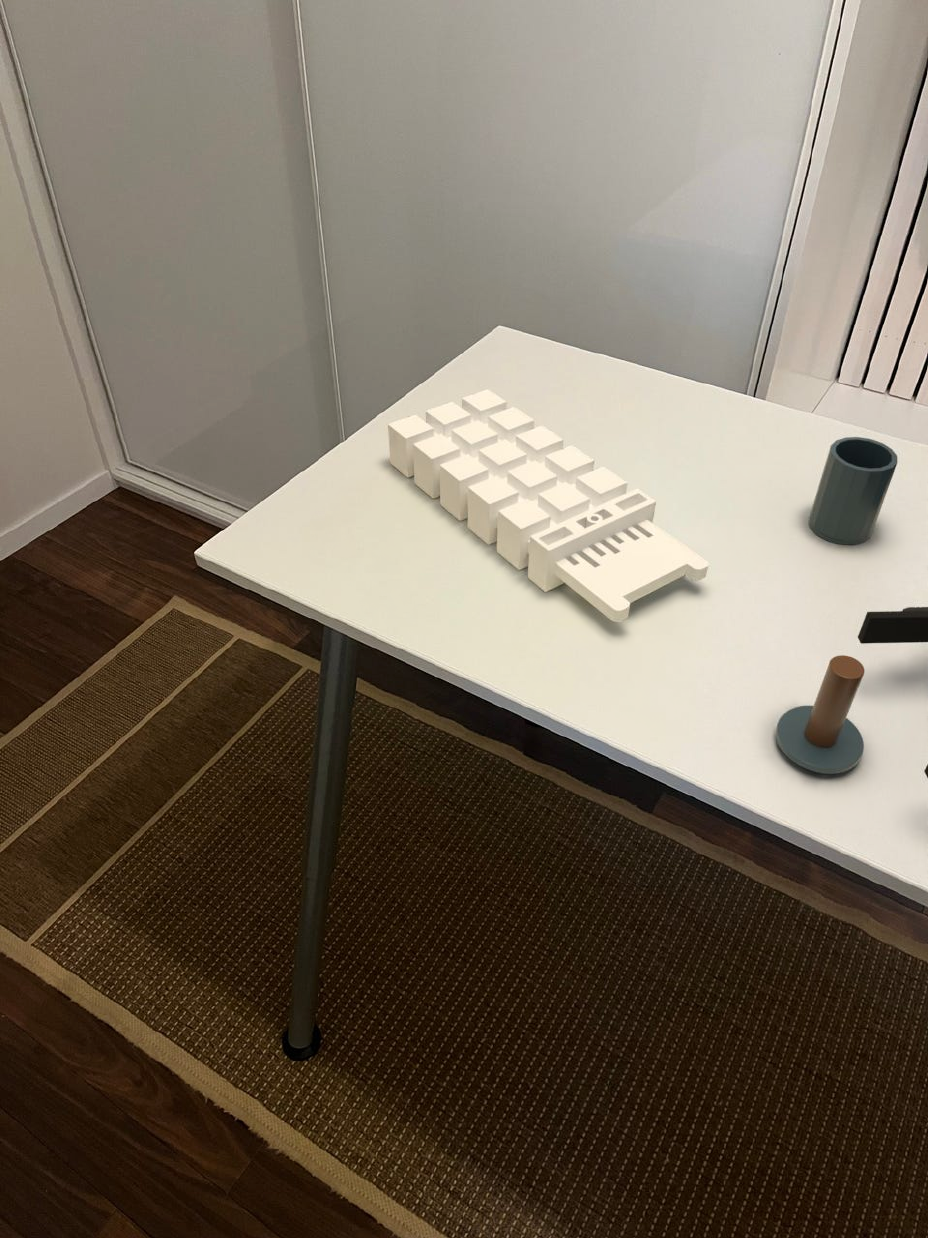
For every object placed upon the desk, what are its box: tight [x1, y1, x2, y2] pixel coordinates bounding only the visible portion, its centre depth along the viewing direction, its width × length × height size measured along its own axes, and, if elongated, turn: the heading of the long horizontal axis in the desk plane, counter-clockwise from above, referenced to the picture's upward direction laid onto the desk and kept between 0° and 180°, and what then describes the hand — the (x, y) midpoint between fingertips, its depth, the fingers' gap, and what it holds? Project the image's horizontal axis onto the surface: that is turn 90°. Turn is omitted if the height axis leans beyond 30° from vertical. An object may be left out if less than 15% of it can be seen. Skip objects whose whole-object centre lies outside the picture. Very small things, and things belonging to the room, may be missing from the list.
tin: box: [808, 436, 899, 546], centre depth 91 cm, size 6×6×8 cm
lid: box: [775, 654, 865, 775], centre depth 70 cm, size 6×6×9 cm
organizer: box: [387, 389, 710, 623], centre depth 93 cm, size 13×5×35 cm
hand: (895, 690), depth 69 cm, fingers open, 13 cm apart
